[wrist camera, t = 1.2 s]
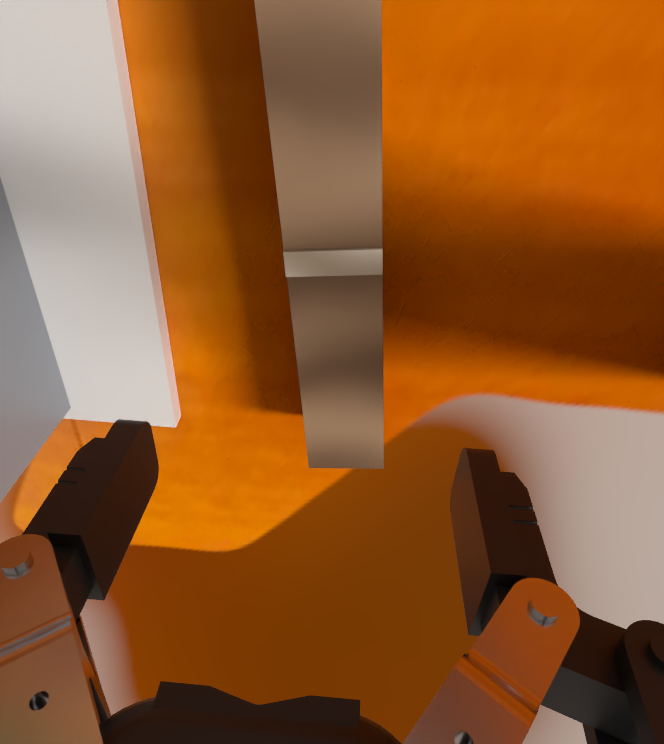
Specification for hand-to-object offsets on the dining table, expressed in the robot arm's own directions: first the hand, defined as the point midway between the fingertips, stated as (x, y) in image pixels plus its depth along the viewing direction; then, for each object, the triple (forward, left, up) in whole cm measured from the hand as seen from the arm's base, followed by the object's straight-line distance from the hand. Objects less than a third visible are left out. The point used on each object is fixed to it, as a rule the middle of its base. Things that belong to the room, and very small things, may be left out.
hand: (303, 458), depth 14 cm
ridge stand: (+2, -18, -17) cm, 25 cm away
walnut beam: (0, 0, -17) cm, 17 cm away
